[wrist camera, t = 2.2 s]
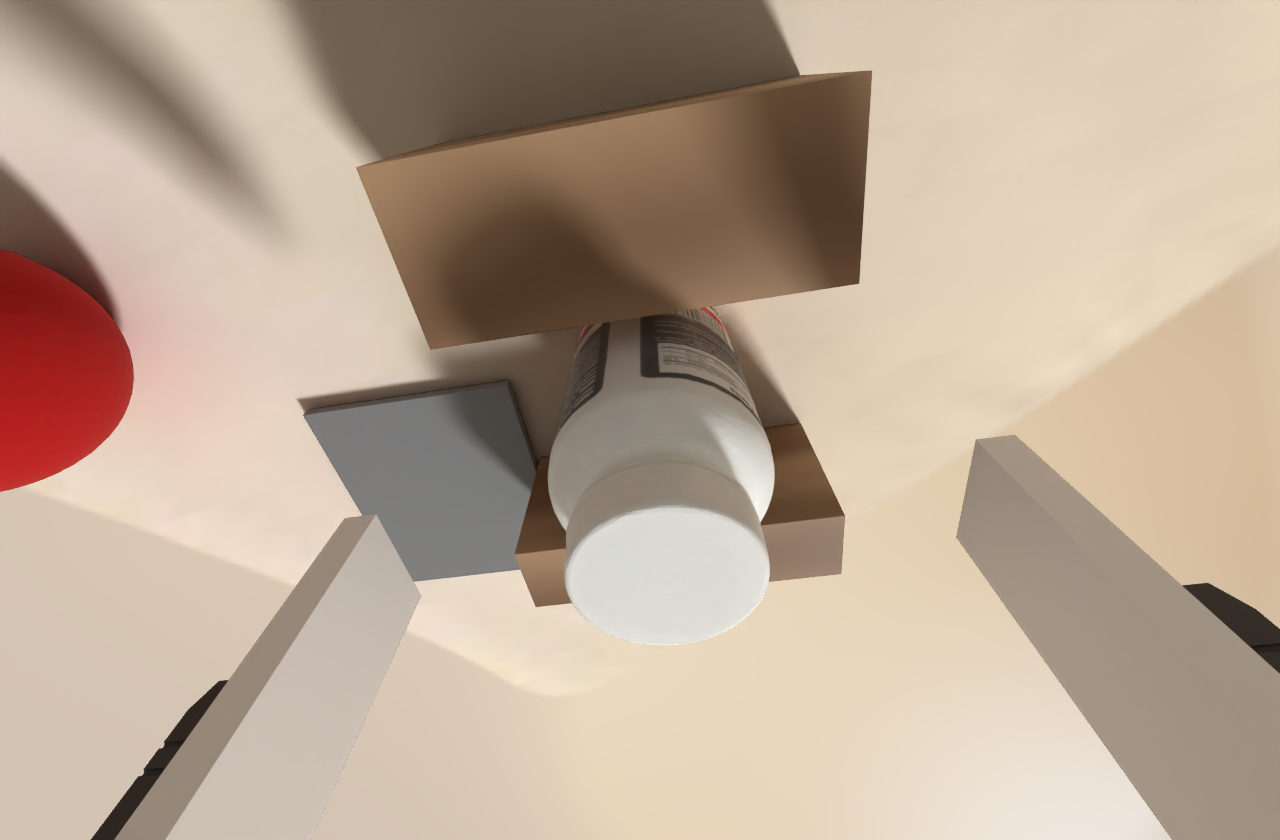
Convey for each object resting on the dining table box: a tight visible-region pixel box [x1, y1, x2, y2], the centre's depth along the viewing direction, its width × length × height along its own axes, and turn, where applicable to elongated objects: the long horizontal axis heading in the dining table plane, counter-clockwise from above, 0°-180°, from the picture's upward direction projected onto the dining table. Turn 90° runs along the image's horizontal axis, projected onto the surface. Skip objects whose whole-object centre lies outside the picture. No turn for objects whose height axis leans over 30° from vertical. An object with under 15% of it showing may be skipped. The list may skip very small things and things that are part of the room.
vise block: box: [356, 71, 872, 607], centre depth 16 cm, size 14×10×5 cm
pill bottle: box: [548, 307, 775, 645], centre depth 14 cm, size 5×5×10 cm
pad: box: [303, 380, 538, 582], centre depth 21 cm, size 9×8×1 cm
